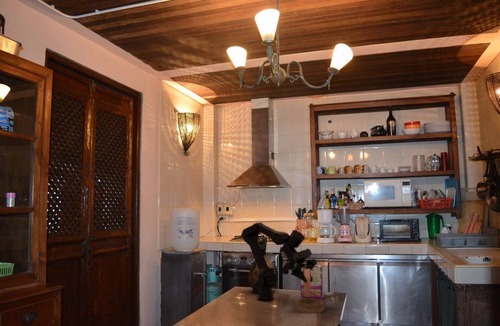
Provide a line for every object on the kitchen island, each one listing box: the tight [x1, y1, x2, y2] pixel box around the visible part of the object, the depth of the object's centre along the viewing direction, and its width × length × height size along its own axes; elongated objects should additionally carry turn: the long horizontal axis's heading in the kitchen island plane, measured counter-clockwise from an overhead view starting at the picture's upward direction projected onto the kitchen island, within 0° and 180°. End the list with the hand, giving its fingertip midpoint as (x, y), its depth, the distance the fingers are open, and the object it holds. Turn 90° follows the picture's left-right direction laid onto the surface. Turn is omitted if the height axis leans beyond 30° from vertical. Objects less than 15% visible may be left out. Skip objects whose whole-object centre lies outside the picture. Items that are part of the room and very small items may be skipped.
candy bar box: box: [300, 264, 324, 300], centre depth 206 cm, size 11×5×16 cm, turn 73°
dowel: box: [304, 268, 311, 297], centre depth 180 cm, size 3×3×12 cm
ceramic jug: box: [247, 236, 277, 295], centre depth 221 cm, size 17×15×30 cm
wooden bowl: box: [295, 298, 326, 314], centre depth 183 cm, size 12×12×4 cm
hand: (309, 281), depth 179 cm, fingers closed on dowel, 3 cm apart
